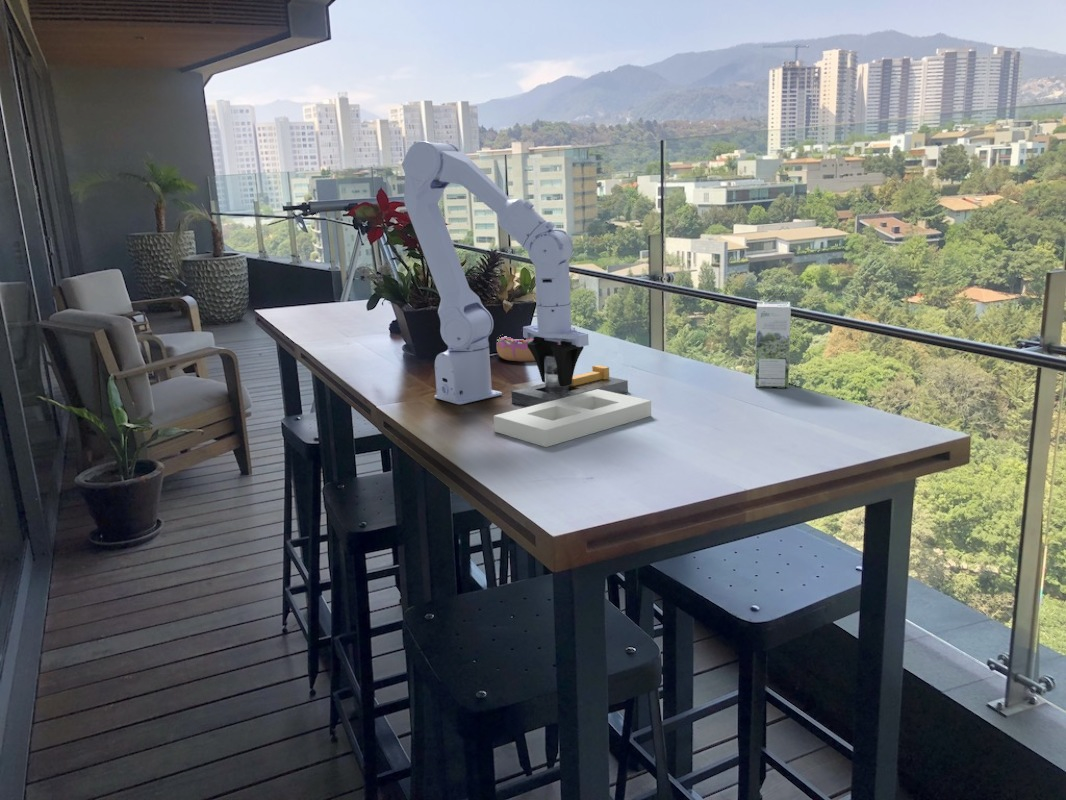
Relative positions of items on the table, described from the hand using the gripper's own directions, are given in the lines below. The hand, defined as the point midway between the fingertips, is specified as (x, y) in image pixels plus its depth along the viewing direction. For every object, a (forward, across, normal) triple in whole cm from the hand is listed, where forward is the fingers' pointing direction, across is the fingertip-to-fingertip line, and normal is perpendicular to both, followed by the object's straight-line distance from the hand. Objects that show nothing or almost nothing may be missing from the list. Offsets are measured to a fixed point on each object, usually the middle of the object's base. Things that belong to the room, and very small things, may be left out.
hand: (556, 383), depth 149 cm
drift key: (+1, 0, -7) cm, 7 cm away
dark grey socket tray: (+3, 0, -3) cm, 4 cm away
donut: (+3, +34, -22) cm, 41 cm away
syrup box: (+3, -21, -32) cm, 38 cm away
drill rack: (+3, -13, +8) cm, 16 cm away
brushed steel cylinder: (+3, 0, 0) cm, 3 cm away
